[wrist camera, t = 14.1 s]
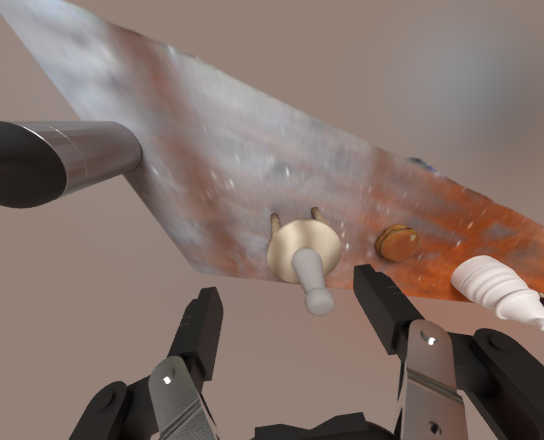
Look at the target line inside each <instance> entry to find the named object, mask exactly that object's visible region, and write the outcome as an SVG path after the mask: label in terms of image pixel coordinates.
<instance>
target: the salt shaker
mask: <svg viewBox="0 0 544 440" xmlns="http://www.w3.org/2000/svg"><path fill="white" fill-rule="evenodd" d="M291 265H292V268H293V270H294V272H295V274H296V276H297V278H298V280H299V282H300V284H301V286H302V288H303V290H304V292H305V294H306V297H305V305H306V307H307V309H308V311H309V313H311V314H312V315H315V316H325V315H327V314H328V313H330V312H331V311H332V310H333V308H334V306H335V301H334V298H333V296H332V294H331V292H330V291H328V290H327V289H326V283H325V276H324V270H323V264H322V259H321V257H320V255H319V254H318V253H317V252H316V251H315V250H313V249H311V248H306V247H301V248H299V249H298V250H297V251H296V252H295V253H294V255H293V257H292V263H291Z"/></svg>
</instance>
